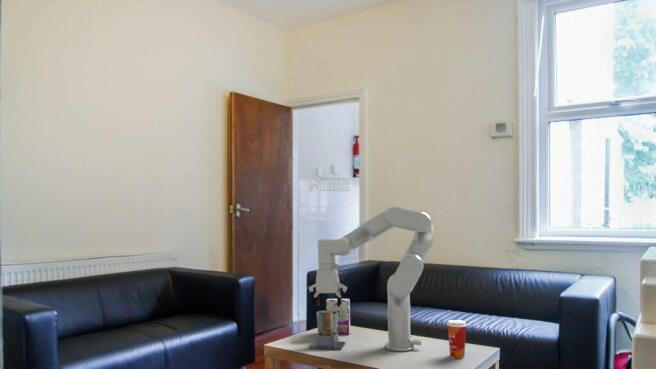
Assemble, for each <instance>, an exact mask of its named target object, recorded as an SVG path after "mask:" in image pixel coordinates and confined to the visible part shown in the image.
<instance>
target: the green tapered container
mask: <svg viewBox="0 0 656 369" xmlns="http://www.w3.org/2000/svg"><path fill="white" fill-rule="evenodd" d="M323 311H324V310H320V311H319V310H318V311H317V312H316V323H317V324H316V325H317V334H318V333H319V332H320V331H322V312H323ZM337 321H338V312H336V311H333V332H337V323H338V322H337Z"/></svg>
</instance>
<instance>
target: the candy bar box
mask: <svg viewBox="0 0 656 369" xmlns="http://www.w3.org/2000/svg"><path fill="white" fill-rule="evenodd" d="M341 299H342V304H341V305H340V307H338V306H337V298H327V299H326V300H325V308H326V309H325V311H336V312H338V321H337V322H338V323H337V332H338V336H340V335H342V336H343V335H345V336H346V335H347V336H349V335H350V334H351V306H350V304H351V303H350V302H351V299H350V298H341Z"/></svg>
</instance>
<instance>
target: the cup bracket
mask: <svg viewBox="0 0 656 369" xmlns="http://www.w3.org/2000/svg"><path fill="white" fill-rule="evenodd" d="M344 346H346V341H339V335H338V332H333V336H329V335H322V331H320V332H319V333H318V332H317V334H316V336H315V340H314V341H313V342H311V343H310V344H309V346H308V349H310V350H326V351H327V350H328V351H342V350H343V348H344Z"/></svg>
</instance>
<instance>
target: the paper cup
mask: <svg viewBox="0 0 656 369" xmlns="http://www.w3.org/2000/svg"><path fill="white" fill-rule="evenodd" d="M446 326H447V331H448V334H447V335H448V345H449V346H448V347H449V356H450V358H452V357H454V358H453V359H458V358H460V359H463V358H462V357H464V358H465V355H466V354H465V353H466V352H465V351H466V331H467V330H466V329H467V328H466V327H467V324H466V321H465V320H461V319H450V320H448V321H447V323H446Z"/></svg>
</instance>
